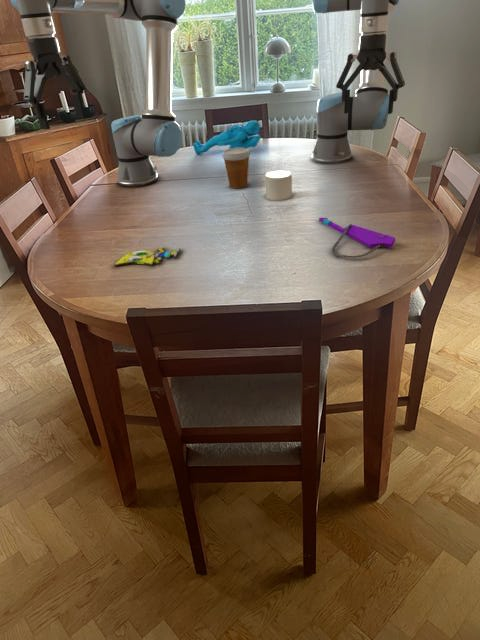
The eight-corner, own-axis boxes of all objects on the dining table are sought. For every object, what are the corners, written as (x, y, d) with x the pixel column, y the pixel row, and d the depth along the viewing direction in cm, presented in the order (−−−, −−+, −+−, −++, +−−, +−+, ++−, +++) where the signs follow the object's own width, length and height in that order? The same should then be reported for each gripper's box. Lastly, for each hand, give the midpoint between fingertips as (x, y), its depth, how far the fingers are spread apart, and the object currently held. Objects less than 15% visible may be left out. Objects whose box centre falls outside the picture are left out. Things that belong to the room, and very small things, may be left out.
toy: (198, 134, 217) (260, 114, 207) (206, 157, 223) (267, 139, 212) (187, 143, 204) (253, 123, 194) (196, 168, 209) (261, 149, 199)
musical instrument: (379, 268, 112) (405, 226, 124) (378, 260, 110) (405, 219, 123) (287, 256, 124) (320, 220, 137) (286, 249, 123) (319, 213, 135)
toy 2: (171, 262, 119) (113, 263, 121) (171, 266, 119) (114, 266, 121) (180, 245, 127) (126, 246, 129) (180, 248, 128) (127, 249, 130)
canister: (286, 201, 153) (285, 178, 149) (262, 199, 156) (260, 177, 152) (295, 192, 159) (295, 171, 155) (272, 190, 162) (271, 169, 159)
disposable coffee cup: (220, 189, 168) (217, 154, 161) (231, 180, 175) (228, 146, 168) (246, 190, 164) (243, 154, 158) (255, 181, 171) (253, 147, 165)
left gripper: (11, 40, 114) (38, 134, 126) (86, 32, 132) (104, 114, 143) (-9, 42, 118) (19, 133, 129) (67, 34, 135) (86, 114, 147)
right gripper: (327, 37, 140) (325, 114, 152) (415, 32, 130) (406, 115, 141) (335, 35, 146) (333, 110, 157) (420, 30, 135) (412, 110, 146)
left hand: (64, 123), depth 136 cm, fingers open, 13 cm apart
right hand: (368, 113), depth 149 cm, fingers open, 13 cm apart
